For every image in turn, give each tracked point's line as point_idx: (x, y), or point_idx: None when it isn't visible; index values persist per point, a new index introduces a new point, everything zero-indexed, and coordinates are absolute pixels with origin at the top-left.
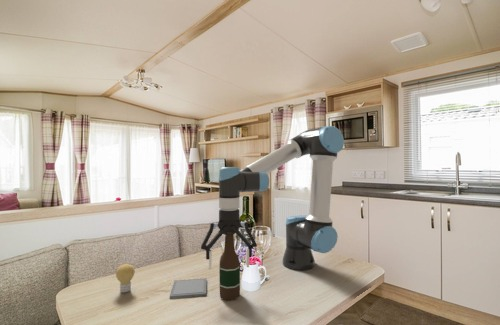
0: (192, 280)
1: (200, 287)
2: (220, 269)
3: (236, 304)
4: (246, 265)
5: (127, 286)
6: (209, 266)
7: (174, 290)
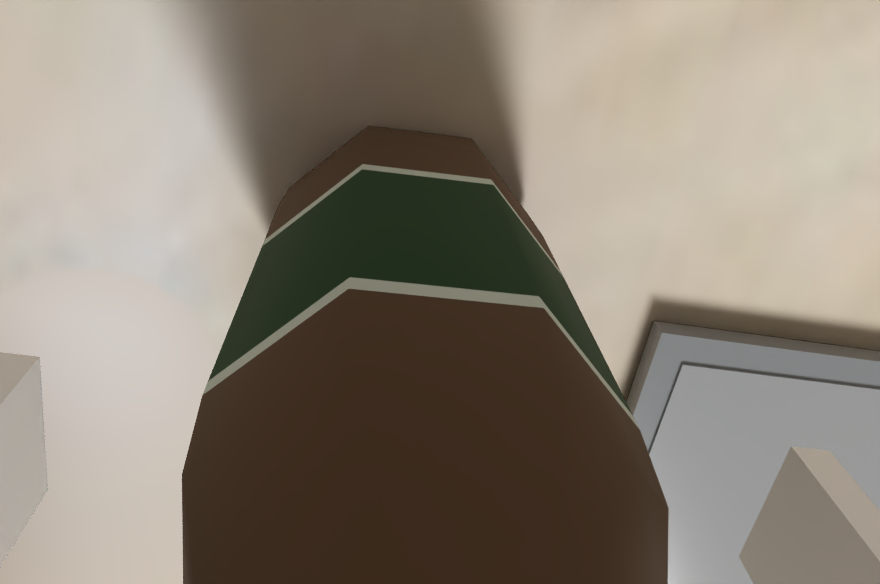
0: None
1: (680, 462)
2: (624, 406)
3: (373, 11)
4: (39, 430)
5: None
6: (857, 491)
7: None
